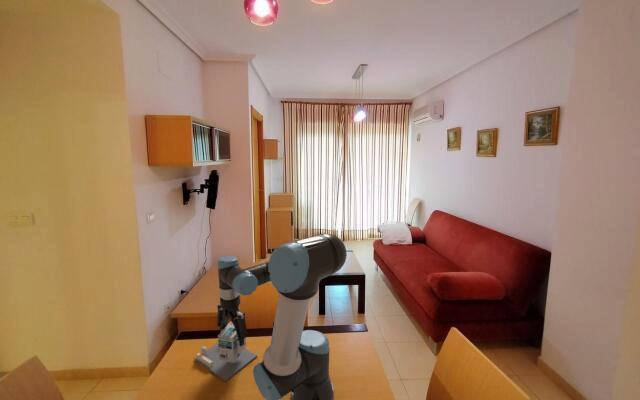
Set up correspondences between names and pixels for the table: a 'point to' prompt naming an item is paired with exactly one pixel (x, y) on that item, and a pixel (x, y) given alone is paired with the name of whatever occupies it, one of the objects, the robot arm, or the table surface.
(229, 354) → the light bulb box
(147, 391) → the table surface
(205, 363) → the grey base plate
